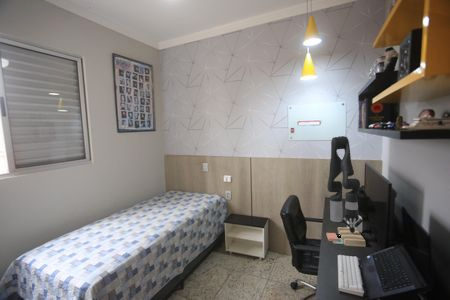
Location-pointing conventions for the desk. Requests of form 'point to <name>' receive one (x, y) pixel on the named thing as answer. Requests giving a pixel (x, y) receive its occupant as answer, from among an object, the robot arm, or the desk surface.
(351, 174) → the robot arm
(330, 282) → the desk surface
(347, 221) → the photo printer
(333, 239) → the card
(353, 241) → the deck
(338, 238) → the mat
